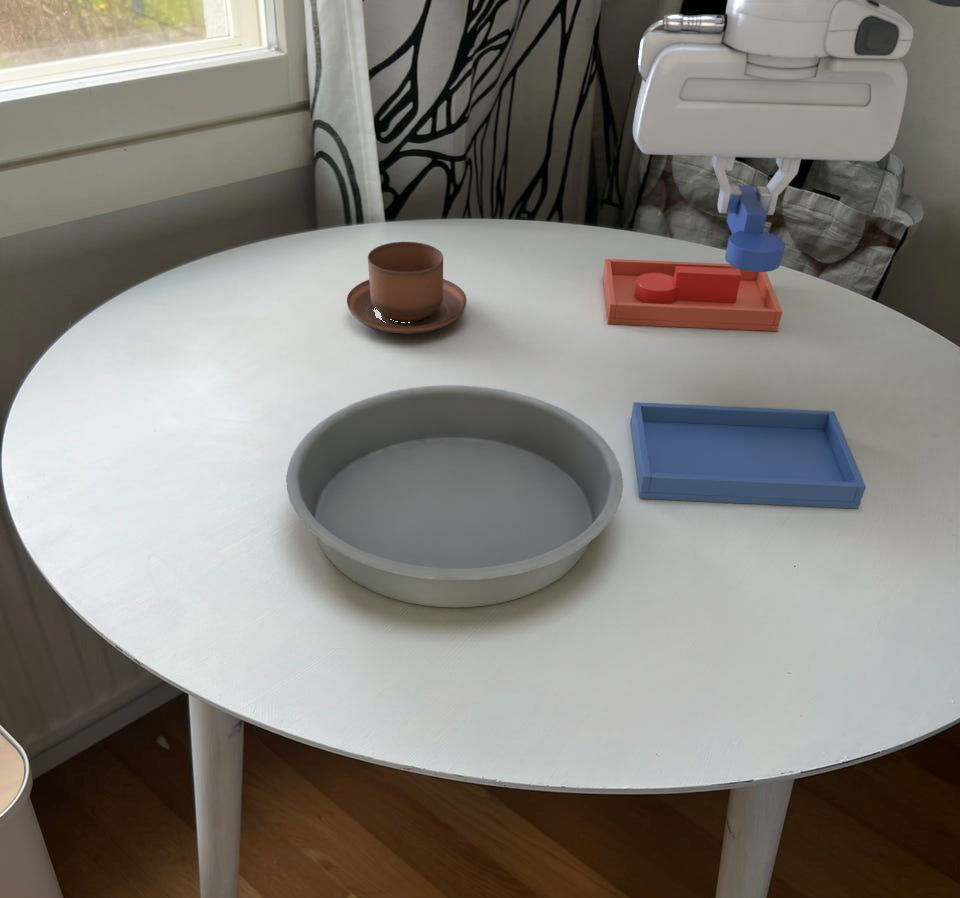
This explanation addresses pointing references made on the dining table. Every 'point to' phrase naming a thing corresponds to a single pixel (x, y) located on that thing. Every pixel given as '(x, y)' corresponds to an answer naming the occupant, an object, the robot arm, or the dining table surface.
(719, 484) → the tray blue
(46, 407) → the dining table surface
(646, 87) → the robot arm
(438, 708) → the dining table surface
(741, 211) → the blue lever handle
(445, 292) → the cup and saucer
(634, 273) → the tray red
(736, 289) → the red lever handle
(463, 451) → the cake pan
